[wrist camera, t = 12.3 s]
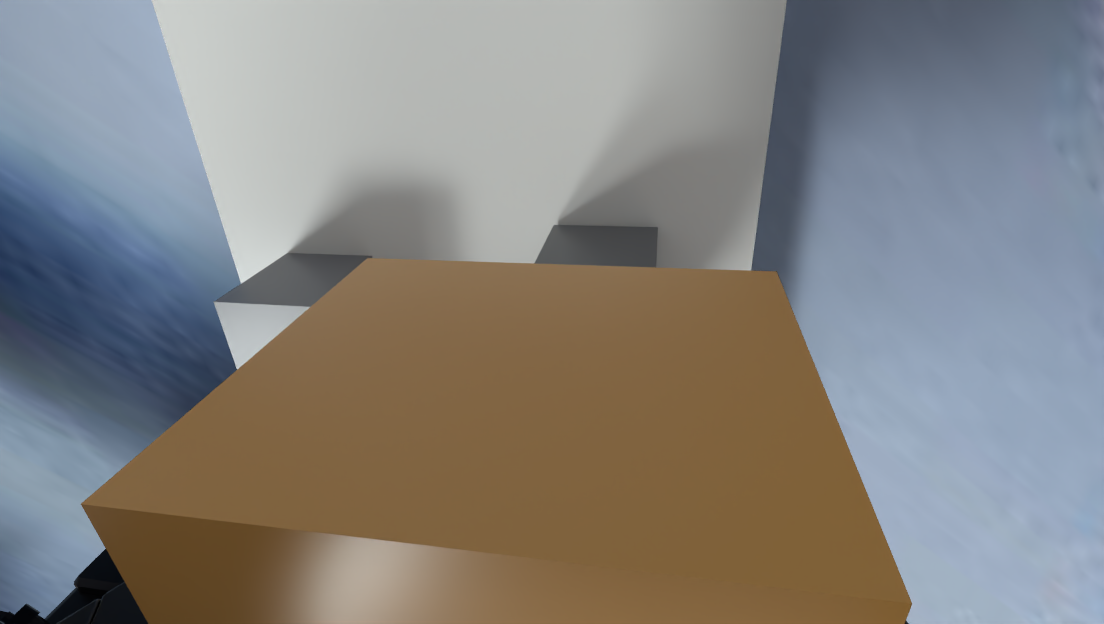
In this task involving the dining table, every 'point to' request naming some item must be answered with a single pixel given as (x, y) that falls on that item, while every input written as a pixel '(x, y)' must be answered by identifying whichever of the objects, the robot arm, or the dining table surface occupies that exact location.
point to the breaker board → (468, 132)
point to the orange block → (511, 462)
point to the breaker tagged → (600, 246)
